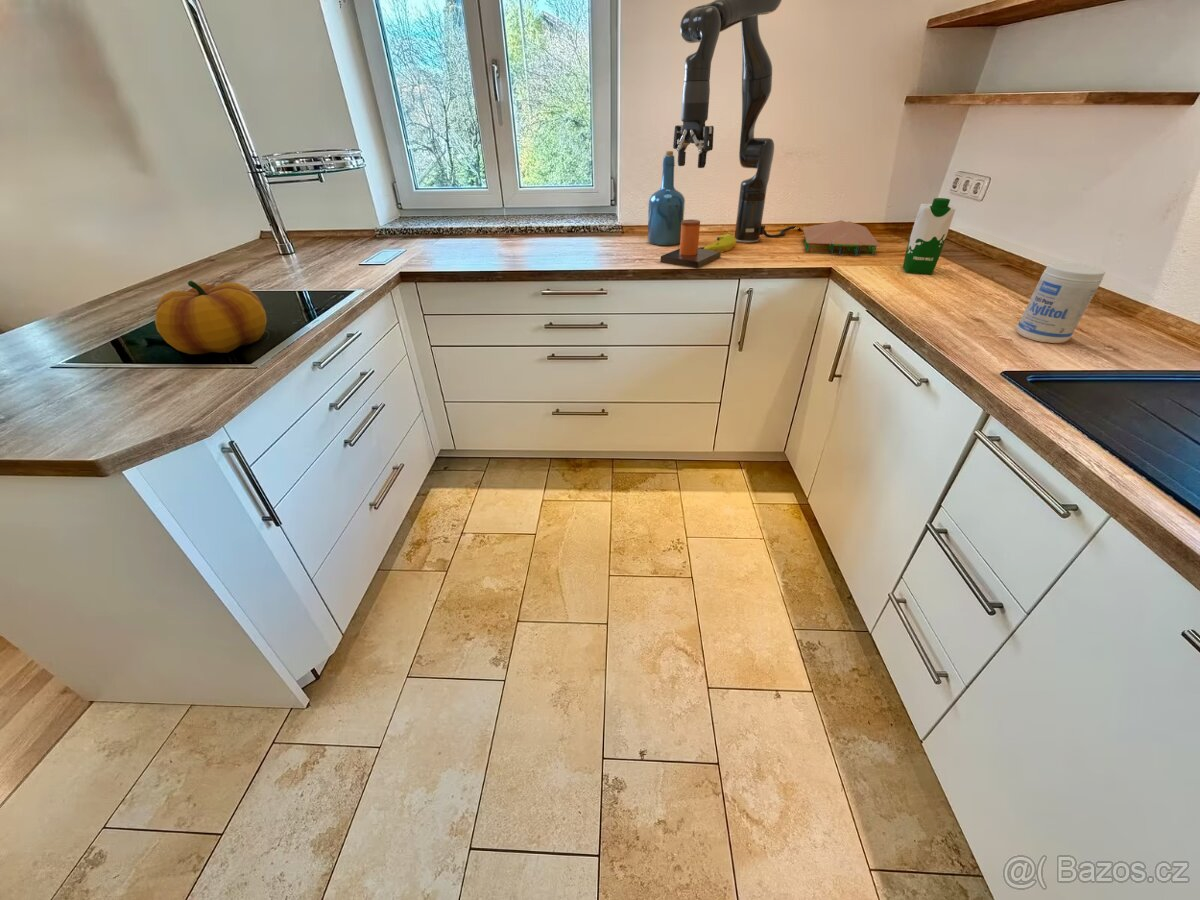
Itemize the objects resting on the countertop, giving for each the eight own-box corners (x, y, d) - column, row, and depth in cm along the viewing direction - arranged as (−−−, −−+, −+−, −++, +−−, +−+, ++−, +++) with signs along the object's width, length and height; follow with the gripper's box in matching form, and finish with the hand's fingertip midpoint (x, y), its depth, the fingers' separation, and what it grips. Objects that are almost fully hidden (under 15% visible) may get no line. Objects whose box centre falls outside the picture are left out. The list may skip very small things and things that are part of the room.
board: (684, 252, 180) (684, 246, 179) (720, 257, 173) (721, 251, 172) (660, 262, 169) (660, 256, 168) (697, 268, 162) (698, 261, 161)
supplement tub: (1012, 337, 111) (1043, 268, 102) (1017, 324, 117) (1048, 258, 108) (1068, 348, 105) (1106, 276, 97) (1071, 334, 111) (1107, 265, 103)
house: (805, 254, 173) (810, 229, 169) (800, 234, 199) (804, 211, 195) (878, 257, 168) (885, 231, 163) (863, 236, 194) (869, 213, 190)
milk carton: (903, 273, 152) (925, 200, 141) (899, 265, 159) (920, 195, 148) (936, 275, 150) (961, 201, 139) (930, 267, 157) (954, 196, 146)
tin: (685, 250, 174) (687, 218, 168) (700, 252, 171) (703, 220, 165) (676, 254, 170) (678, 221, 164) (692, 256, 167) (694, 223, 161)
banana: (733, 230, 189) (692, 236, 191) (739, 236, 174) (695, 244, 177) (734, 242, 191) (693, 249, 194) (740, 250, 176) (696, 257, 179)
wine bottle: (684, 246, 188) (691, 152, 171) (648, 246, 188) (651, 153, 171) (680, 237, 199) (685, 149, 182) (646, 238, 199) (648, 150, 182)
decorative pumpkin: (254, 360, 110) (223, 290, 101) (147, 366, 109) (107, 296, 100) (293, 326, 126) (269, 264, 118) (201, 331, 125) (171, 269, 117)
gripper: (723, 100, 139) (717, 167, 149) (688, 101, 149) (684, 164, 158) (703, 101, 136) (698, 169, 145) (668, 101, 146) (665, 166, 155)
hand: (691, 166), depth 152 cm, fingers open, 8 cm apart
